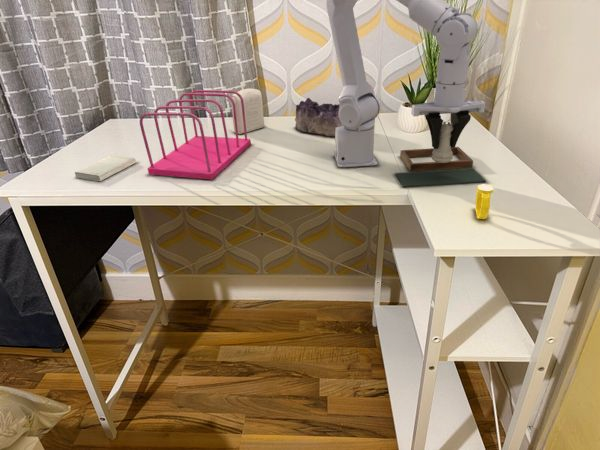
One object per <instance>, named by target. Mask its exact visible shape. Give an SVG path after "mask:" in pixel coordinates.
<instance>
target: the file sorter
mask: <svg viewBox="0 0 600 450" xmlns="http://www.w3.org/2000/svg"><path fill="white" fill-rule="evenodd" d="M229 94H236V95H238V96H239V97H240V99H241V105H242V114H243V123H244V133H243V134H244V138H241V137H239V134H238V128H237V118H236V109H235V103H234V100H233V99H232V98H231V95H229ZM185 96H189V97H188V99H183V98H184V97H185ZM193 96H199V97H223V98H224V97H225V98H226V99H229V101H230V103H231V102H232V105H233V112H234V122H235V131H234V132H236V133H235V137H229V135H228V131H227V125H226V120H225V114H224V109H223V107H222V105H221V104H220V103H219V102H218V101H217V100H214V99H204V98H203V99H197V98H196V99H193V98H192V97H193ZM173 103H174V104H175V103H178V105H171V104H173ZM182 103H189V105H188V106H186V105H183V104H182ZM193 103H213V104H215V105H216V106H217V107H218V109H219V112H220V117H221V122H222V128H223V133H224V137H223V136H218V134H217V129H216V128H217V127H216V122H215V118H214V115H213V113H212V111H211V110H210V109H208V108H207V107H205V106H193ZM159 110H165V112H158V111H159ZM169 110H179V111H180V112H169ZM184 110H190V113H189V112H184ZM194 110H204V111H205V112H206V113H208V114H209V116H210V120H211V125H212V132H213V136H209V135H208V136H206V135H205V134H204V133H205V132H204V128H203V124H202V121H201V120H200V118H199V117H198V116H197V115H195V112H194ZM152 116H153V119H154V123H155V128H156V132H157V133H156V134H157V137H158V141H159V145H160V149H161V153H162V158H160V159H159V160H157V161H156V162H153V158H152V154H151V150H150V147H149V143H148V139H147V136H146V135H147V134H146V131H145V127H144V123H143V122H144V118H145V117H152ZM158 116H159V117H161V116H166V119H167V123H168V128H169V131H170V135H171V140H172V144H173V147H174V150H172V151H170V152H169V153H168V154H166V151H165V146H164V142H163V139H162V134H161V130H160V126H159V125H160V124H159V122H158ZM171 116H172V117H173V116H174V117H176V116H177V117H179V116H180V118H181V123H182V124H181V125H182V129H183V134H184V140H185V141H184V142H183V144H181V145H180V146H177V142H176V138H175V133H174V129H173V125H172V121H171ZM185 117H191V119H192V123H193V125H192V126H193V130H194V136H193V137H192V138H190V139H188V133H187V129H186V127H187V126H186V123H185ZM196 121H197V123H196ZM197 124H198V127H199V132H200V135H198V129H197ZM139 126H140V131H141V135H142V139H143V143H144V147H145V150H146V152H147V158H148V161H149V165H150V166H149V167H147V173H148V175H151V176H152V175H155V176H166V177H177V178H189V179H190V178H191V179H201V180H213V179H215V178H216V177H217V176H218V175H219V174H220V173H221V172H222V171H224V170H225V169H226V168H227V167H228V166H230V164H231V163H232V162H234V160H236V159H237V158H238V157H239V156H240V155H241V154H242V153H243V152H244V151H245V150H246V149H248V148H249V147H250V146H251V145H252V142H251V138H248V132H247V131H246V121H245V111H244V102H243V98H242V96H241V95H240V94H239V93H238V91H235V90H224V89H223V90H219V89H217V90H215V89H195V90H193V91H191V92H185V93H183V94H181V95H180V97H179V98H178V99H172V100H169V101H168V102H167V103H166V105H163V106H162V105H161V106H158V107H157V108H155V109H154V112H145V113H143V114H141V116H140V117H139Z"/></svg>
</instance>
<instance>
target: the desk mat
mask: <svg viewBox="0 0 600 450" xmlns="http://www.w3.org/2000/svg"><path fill="white" fill-rule="evenodd" d="M395 176H396V178H397V179H398V181H399V183H400V185H401V186H402V188H415V187H416V188H417V187H432V186H433V187H434V186H446V185H447V186H450V185H464V184H480V183H481V184H484V183H486V182H487V181H486V179H485V178H484V177H483V176H481V174H479V172H477V171H476V170H475V168H460V169H444V170H428V171H411V172H410V171H409V172H395Z"/></svg>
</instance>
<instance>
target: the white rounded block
mask: <svg viewBox="0 0 600 450" xmlns="http://www.w3.org/2000/svg"><path fill="white" fill-rule="evenodd" d="M237 92H238V93H239V94H240V95H241V96H242V98H243V102H244V111H245V121H246V131H247V133H250V132H252V131H256V130H259V129H262V128H264V127H265V117H264V116H265V115H264V103H263V94H262V92H261V90H259V89H257V88H244V89H241V90H238V91H237ZM230 97H231V98H232V99H233V100H234V103H235V109H236V118H237V128H238V135H242V134H245V133H244V123H243V114H242V105H241V99H240V97H239V96H238V95H236V94H234V93H232V95H230ZM230 107H231V115H232V123H233V130H234V132H235V122H234V112H233V105H232V102H231V101H230ZM235 134H236V132H235Z"/></svg>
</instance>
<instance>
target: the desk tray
mask: <svg viewBox="0 0 600 450" xmlns="http://www.w3.org/2000/svg"><path fill="white" fill-rule="evenodd" d="M433 150H434V148H433V147H431V148H417V149H416V148H413V149H401V150H400V153H399V157H400V159H401V160H402V162H403V163H404V165H405V166H406V167H407V169H408V170H409V172H423V171H440V170H456V169H473V165H474V160H473V159H472V158H471V157H470V156H469V155H468V154H467V153H466V152H465V151H464V150H463V149H462V148H461V147H459V146H455V148H451V151H452V152H453V155H452V156H456V157H457V158H458V160H451V161H450V162H446V163H440V162H435V161H425V162H413V161H412V160H411V158H422V157H423V158H424V157H432V155H433V154H432V152H433Z"/></svg>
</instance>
